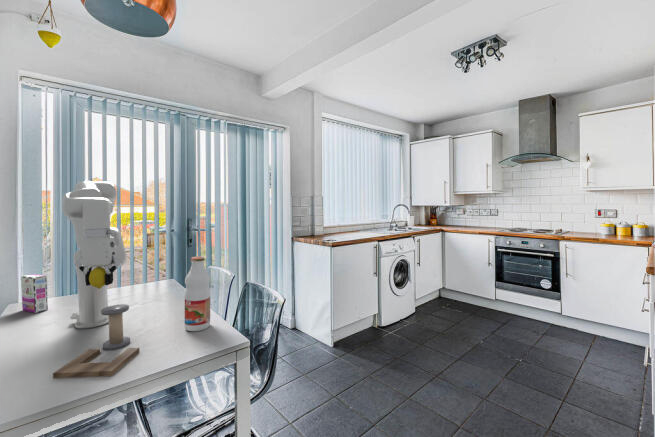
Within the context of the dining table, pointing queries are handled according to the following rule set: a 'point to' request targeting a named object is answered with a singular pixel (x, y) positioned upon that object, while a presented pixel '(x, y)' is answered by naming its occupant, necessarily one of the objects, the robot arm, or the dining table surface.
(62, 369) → the notched board
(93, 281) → the lemon
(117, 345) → the spool
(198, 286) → the fruit juice
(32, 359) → the dining table surface
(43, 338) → the dining table surface
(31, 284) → the candy bar box
